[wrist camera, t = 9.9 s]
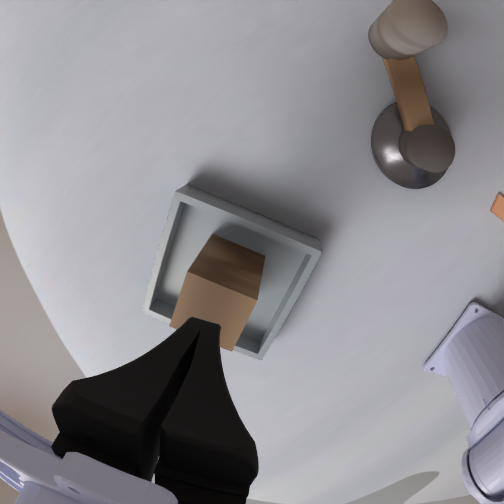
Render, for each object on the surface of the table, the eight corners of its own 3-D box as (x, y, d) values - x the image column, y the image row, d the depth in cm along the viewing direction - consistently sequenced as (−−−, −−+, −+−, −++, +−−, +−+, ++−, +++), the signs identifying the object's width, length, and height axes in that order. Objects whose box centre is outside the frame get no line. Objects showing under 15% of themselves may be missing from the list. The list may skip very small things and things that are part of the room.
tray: (319, 240, 22) (322, 252, 20) (263, 343, 26) (261, 360, 24) (185, 184, 21) (175, 191, 19) (152, 297, 25) (142, 311, 23)
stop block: (265, 255, 22) (257, 300, 17) (244, 300, 24) (231, 351, 18) (212, 233, 22) (187, 271, 16) (195, 280, 24) (169, 325, 18)
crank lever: (439, 161, 18) (486, 176, 12) (402, 170, 18) (440, 188, 13) (398, 21, 14) (433, -8, 9) (357, 26, 15) (382, -7, 10)
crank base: (459, 129, 17) (464, 129, 17) (427, 201, 20) (431, 203, 19) (390, 85, 17) (394, 83, 16) (356, 162, 19) (359, 163, 19)
